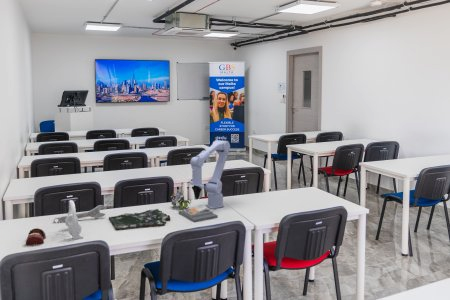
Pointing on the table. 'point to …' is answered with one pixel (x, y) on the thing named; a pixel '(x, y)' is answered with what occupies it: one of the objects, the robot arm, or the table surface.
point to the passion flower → (178, 198)
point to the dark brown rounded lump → (35, 237)
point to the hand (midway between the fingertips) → (197, 197)
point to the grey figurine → (73, 222)
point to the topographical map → (139, 220)
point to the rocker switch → (197, 209)
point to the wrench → (86, 214)
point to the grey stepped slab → (198, 215)
